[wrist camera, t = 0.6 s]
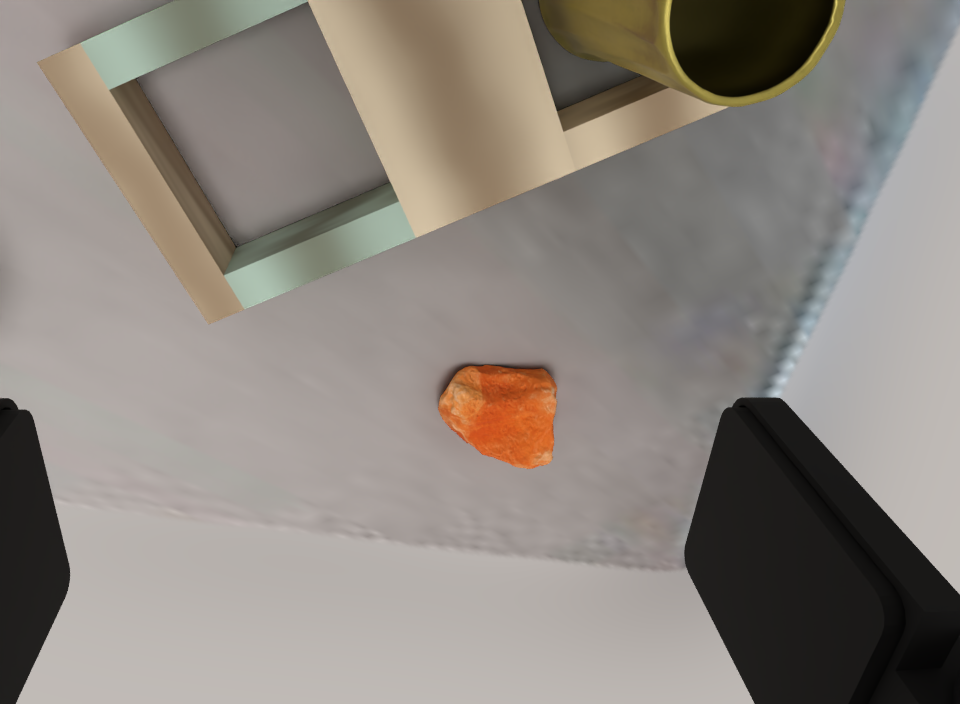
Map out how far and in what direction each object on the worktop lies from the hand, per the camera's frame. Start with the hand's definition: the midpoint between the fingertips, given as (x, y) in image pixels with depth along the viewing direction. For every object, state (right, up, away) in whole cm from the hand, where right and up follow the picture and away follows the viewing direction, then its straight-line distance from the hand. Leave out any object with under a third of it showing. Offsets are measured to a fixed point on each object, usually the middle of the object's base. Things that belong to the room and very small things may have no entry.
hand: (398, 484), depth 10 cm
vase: (+7, +18, +22) cm, 29 cm away
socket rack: (-1, +15, +22) cm, 27 cm away
